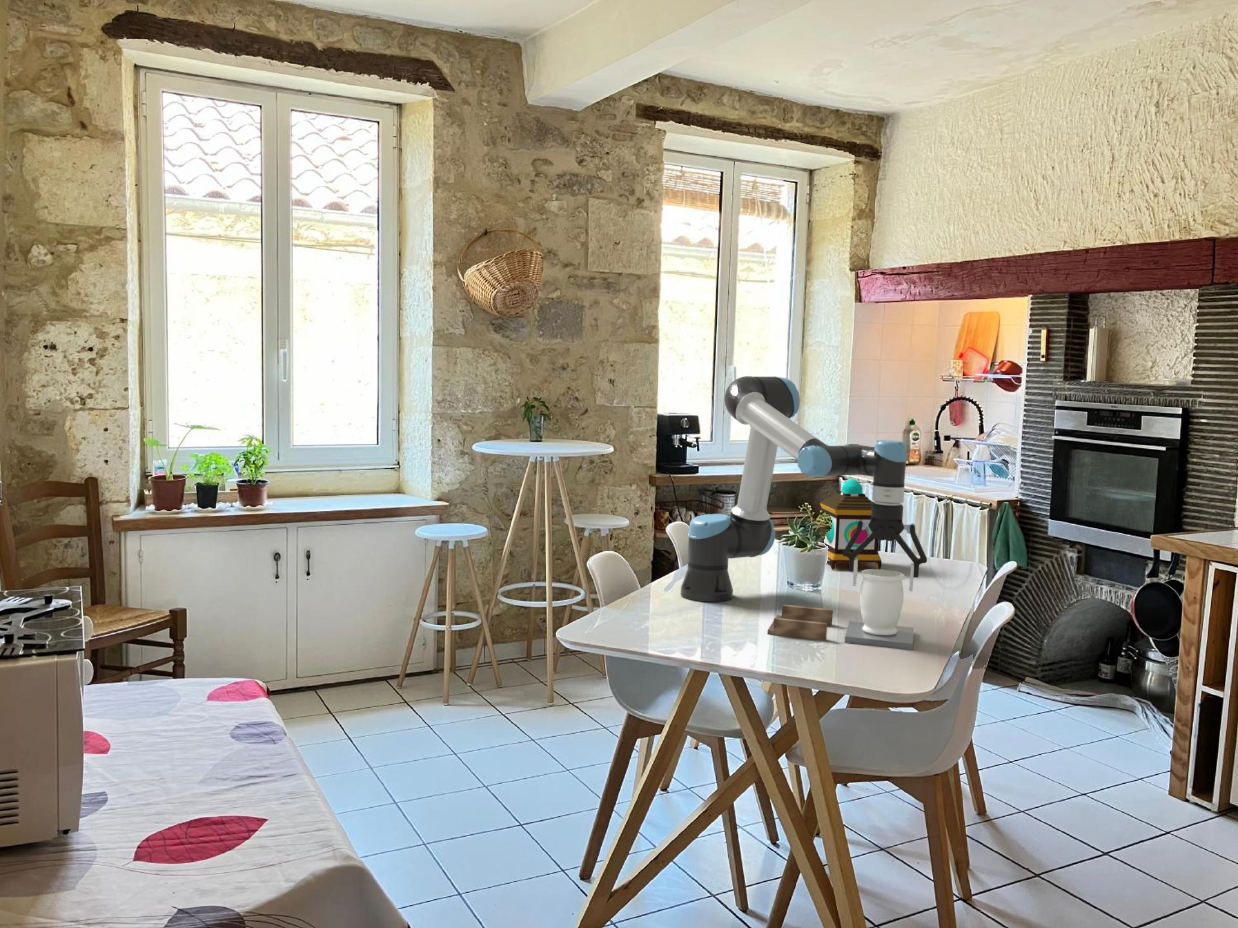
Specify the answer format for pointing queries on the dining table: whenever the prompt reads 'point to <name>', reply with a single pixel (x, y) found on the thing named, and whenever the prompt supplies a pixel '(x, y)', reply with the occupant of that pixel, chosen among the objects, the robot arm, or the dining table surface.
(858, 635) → the plate
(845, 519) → the decorative lantern
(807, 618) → the brown wooden u-shaped frame
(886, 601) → the jar
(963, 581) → the dining table surface
